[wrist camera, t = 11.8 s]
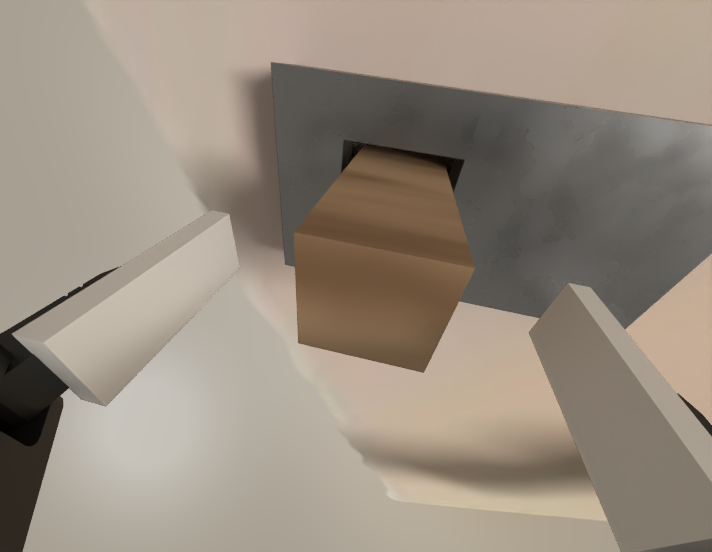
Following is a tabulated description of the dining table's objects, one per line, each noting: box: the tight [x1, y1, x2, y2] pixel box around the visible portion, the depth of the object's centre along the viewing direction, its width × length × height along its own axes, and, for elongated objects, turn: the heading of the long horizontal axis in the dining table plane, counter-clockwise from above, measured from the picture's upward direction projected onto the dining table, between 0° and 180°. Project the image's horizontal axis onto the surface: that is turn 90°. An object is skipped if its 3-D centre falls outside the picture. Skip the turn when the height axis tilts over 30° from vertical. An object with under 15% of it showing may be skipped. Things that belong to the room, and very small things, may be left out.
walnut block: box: [294, 145, 475, 373], centre depth 13 cm, size 5×5×12 cm
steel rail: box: [271, 62, 712, 329], centre depth 16 cm, size 12×24×3 cm, turn 84°
